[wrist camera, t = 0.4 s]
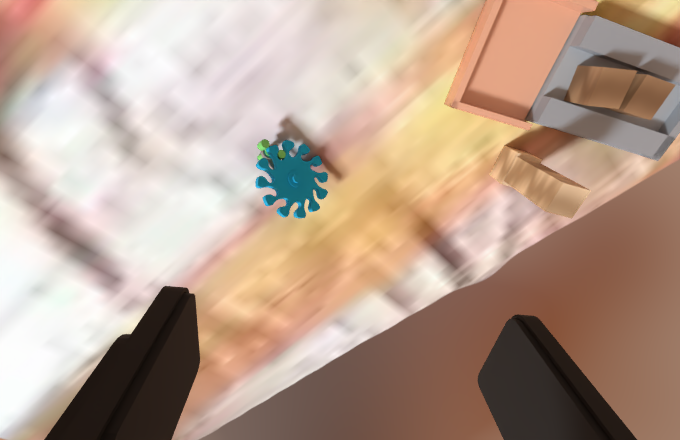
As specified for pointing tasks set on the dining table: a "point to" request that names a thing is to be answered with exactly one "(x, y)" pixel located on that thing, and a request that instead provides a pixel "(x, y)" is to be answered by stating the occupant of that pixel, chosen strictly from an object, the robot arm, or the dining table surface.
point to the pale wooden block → (538, 182)
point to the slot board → (622, 53)
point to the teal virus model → (290, 177)
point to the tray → (512, 56)
